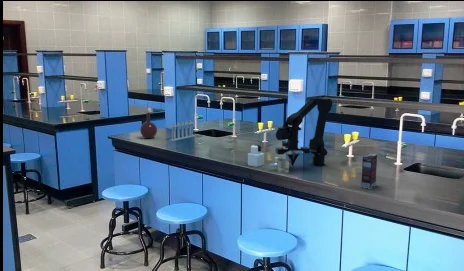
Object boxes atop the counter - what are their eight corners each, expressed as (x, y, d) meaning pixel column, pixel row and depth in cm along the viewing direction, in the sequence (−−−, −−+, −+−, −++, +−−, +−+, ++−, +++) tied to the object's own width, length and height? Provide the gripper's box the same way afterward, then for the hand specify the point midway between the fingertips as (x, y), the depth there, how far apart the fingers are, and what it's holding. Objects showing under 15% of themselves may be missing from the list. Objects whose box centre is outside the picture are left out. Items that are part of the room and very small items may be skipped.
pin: (288, 167, 239) (288, 159, 238) (290, 169, 235) (290, 161, 234) (268, 168, 237) (268, 160, 236) (270, 170, 233) (270, 162, 232)
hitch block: (282, 166, 242) (282, 156, 241) (288, 172, 231) (288, 162, 230) (274, 167, 242) (274, 157, 241) (279, 172, 230) (280, 162, 229)
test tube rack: (173, 141, 319) (172, 124, 316) (169, 140, 321) (168, 123, 319) (195, 136, 338) (195, 120, 336) (191, 135, 341) (191, 119, 338)
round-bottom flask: (151, 136, 339) (150, 111, 335) (160, 138, 329) (159, 113, 325) (137, 138, 330) (136, 113, 326) (146, 140, 320) (145, 114, 317)
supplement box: (366, 183, 210) (368, 152, 207) (375, 185, 208) (377, 154, 205) (360, 187, 203) (362, 156, 200) (370, 189, 201) (372, 157, 198)
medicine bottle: (254, 162, 252) (254, 143, 250) (264, 164, 248) (264, 145, 245) (247, 165, 247) (247, 145, 244) (257, 167, 242) (257, 147, 240)
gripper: (304, 135, 243) (303, 161, 246) (273, 136, 240) (272, 162, 243) (310, 138, 232) (309, 166, 235) (278, 139, 229) (277, 167, 232)
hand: (292, 165), depth 237 cm, fingers closed
